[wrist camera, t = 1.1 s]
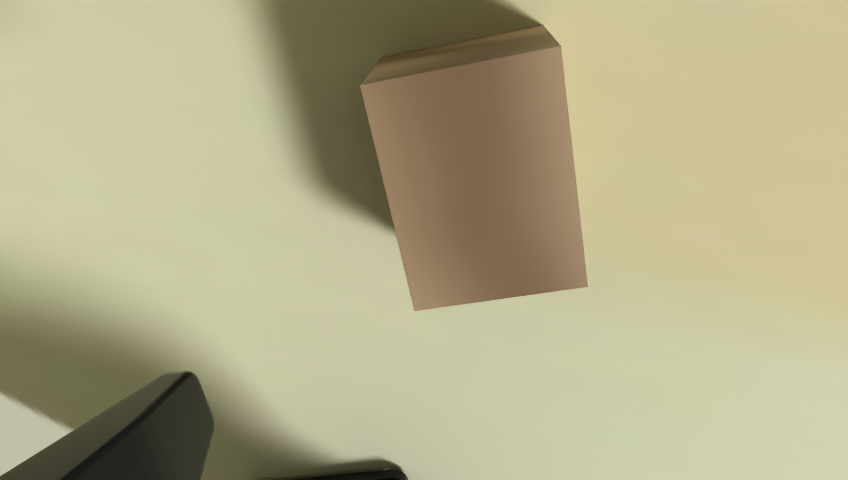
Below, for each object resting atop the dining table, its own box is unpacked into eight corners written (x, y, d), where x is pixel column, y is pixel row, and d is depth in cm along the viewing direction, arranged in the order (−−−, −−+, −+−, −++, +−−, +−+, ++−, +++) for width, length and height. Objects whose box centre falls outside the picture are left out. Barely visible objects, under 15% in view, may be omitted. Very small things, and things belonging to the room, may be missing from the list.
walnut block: (424, 245, 20) (414, 310, 17) (382, 56, 18) (360, 85, 14) (566, 223, 20) (587, 286, 16) (542, 24, 17) (561, 46, 14)
